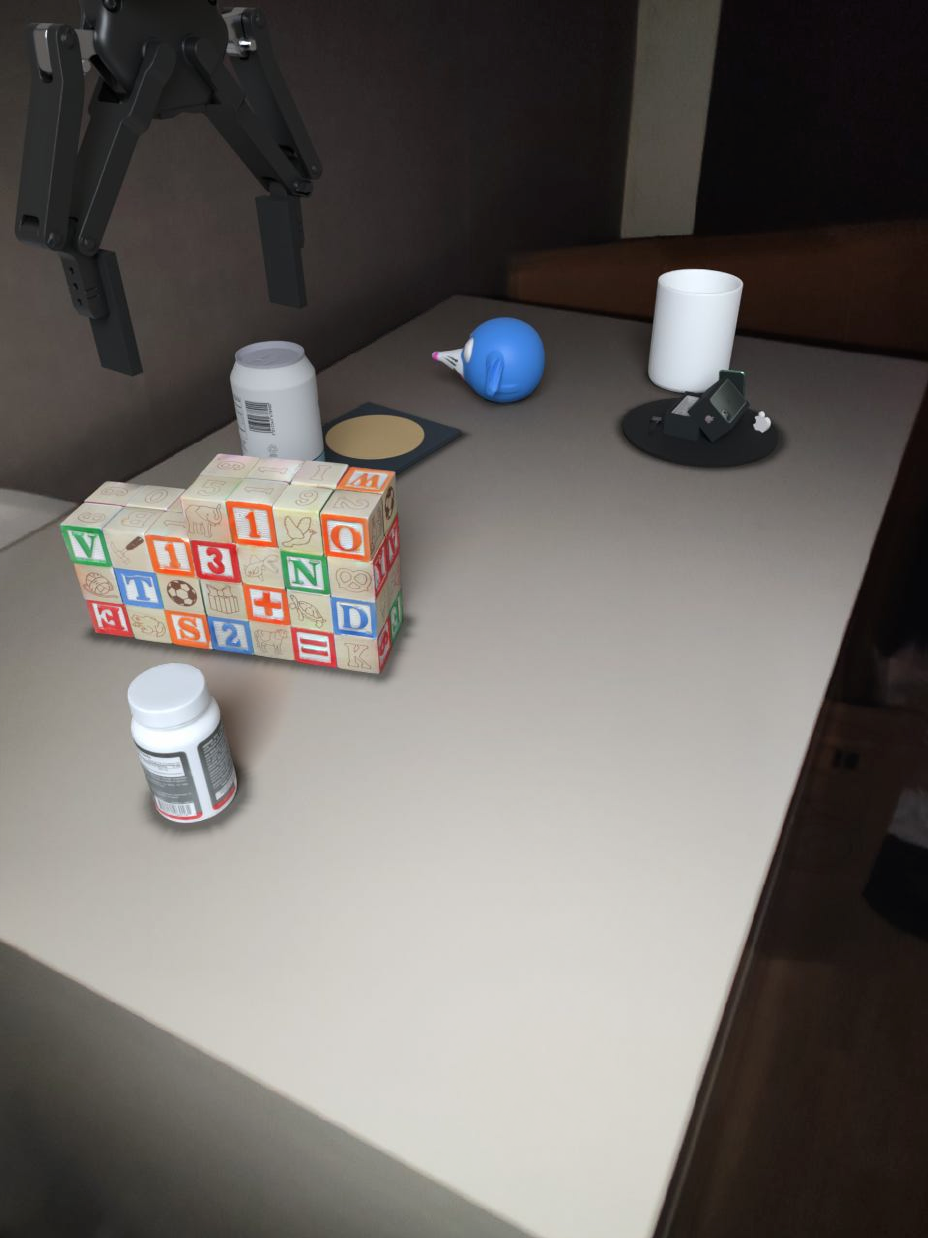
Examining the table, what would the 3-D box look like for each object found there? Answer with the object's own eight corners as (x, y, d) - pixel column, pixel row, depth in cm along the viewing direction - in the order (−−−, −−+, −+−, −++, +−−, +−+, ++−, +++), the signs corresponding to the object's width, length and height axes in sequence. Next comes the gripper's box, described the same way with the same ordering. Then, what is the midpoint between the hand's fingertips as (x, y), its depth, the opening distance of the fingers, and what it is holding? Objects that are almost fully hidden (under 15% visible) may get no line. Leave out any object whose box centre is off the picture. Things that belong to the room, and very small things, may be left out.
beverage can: (343, 484, 81) (330, 352, 74) (279, 512, 77) (258, 376, 70) (296, 459, 85) (280, 331, 78) (233, 484, 81) (209, 353, 74)
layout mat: (191, 499, 80) (190, 493, 80) (368, 406, 96) (368, 400, 96) (289, 541, 75) (288, 534, 74) (461, 435, 90) (460, 428, 90)
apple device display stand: (753, 481, 82) (764, 424, 79) (599, 445, 88) (603, 391, 85) (794, 418, 93) (806, 366, 89) (653, 390, 99) (660, 340, 95)
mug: (736, 360, 105) (753, 264, 99) (719, 400, 96) (736, 297, 90) (662, 351, 108) (673, 256, 101) (639, 389, 99) (650, 288, 92)
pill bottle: (220, 753, 55) (194, 645, 50) (250, 802, 52) (226, 693, 47) (143, 785, 53) (108, 677, 48) (170, 838, 50) (135, 728, 45)
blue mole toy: (444, 372, 103) (442, 297, 98) (549, 379, 101) (552, 302, 96) (420, 417, 94) (417, 336, 89) (535, 425, 92) (539, 343, 87)
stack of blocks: (92, 636, 65) (43, 482, 57) (136, 586, 70) (95, 439, 62) (382, 675, 61) (368, 516, 54) (406, 620, 66) (397, 467, 59)
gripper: (-75, -118, 34) (79, 420, 46) (360, -105, 50) (385, 290, 63) (-177, -110, 37) (-7, 389, 50) (260, -100, 53) (304, 273, 66)
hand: (212, 334), depth 56 cm, fingers open, 13 cm apart
